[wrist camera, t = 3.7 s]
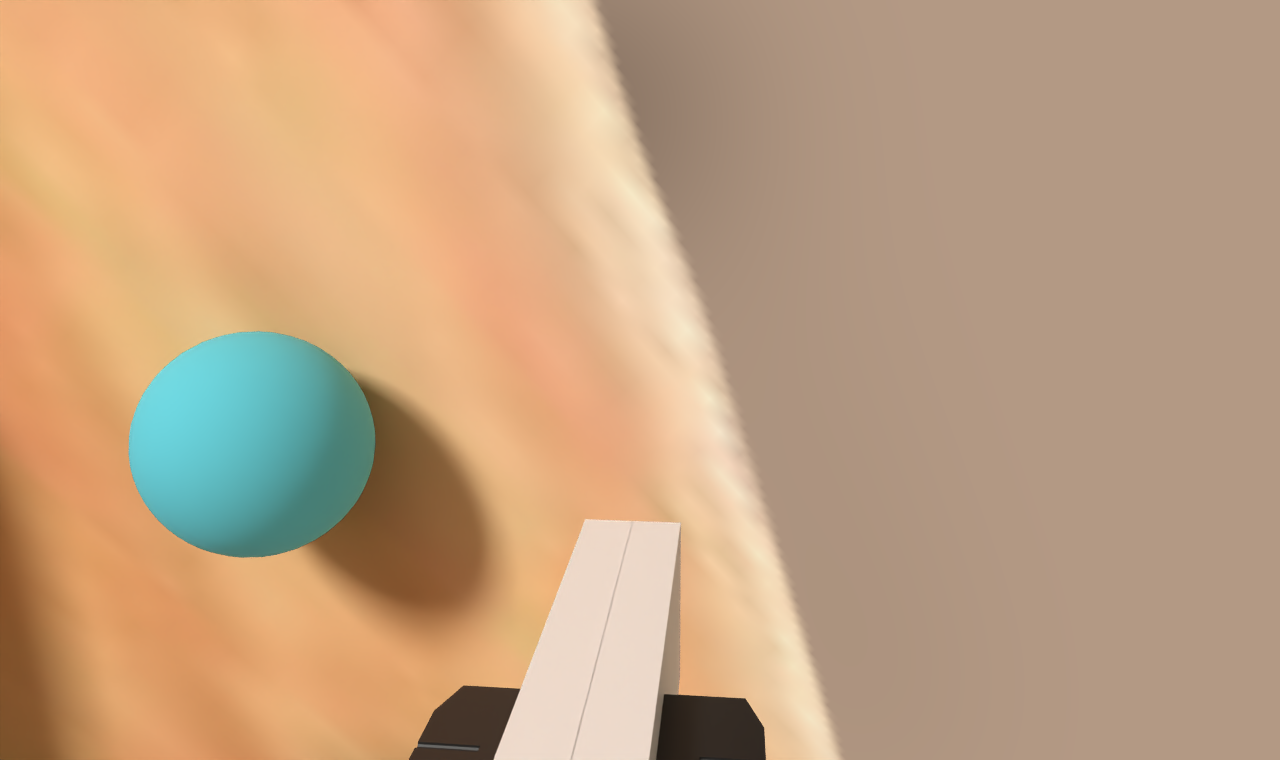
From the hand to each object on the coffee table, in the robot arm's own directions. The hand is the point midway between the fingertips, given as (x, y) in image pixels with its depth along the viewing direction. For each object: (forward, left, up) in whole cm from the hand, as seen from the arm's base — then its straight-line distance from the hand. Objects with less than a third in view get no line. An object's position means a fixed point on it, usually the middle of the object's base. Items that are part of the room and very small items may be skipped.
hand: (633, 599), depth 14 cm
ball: (0, +10, -7) cm, 12 cm away
